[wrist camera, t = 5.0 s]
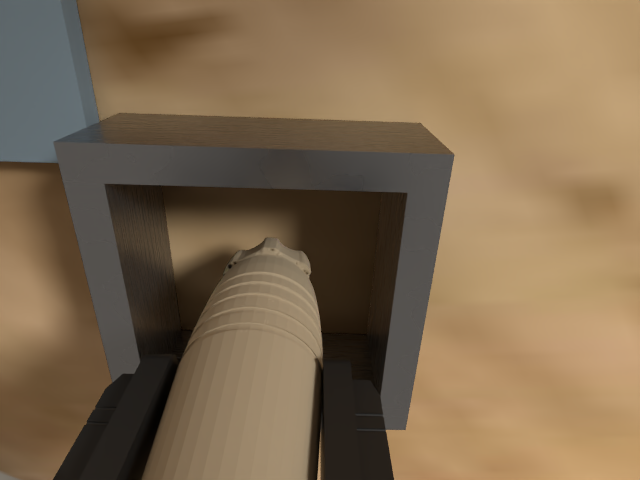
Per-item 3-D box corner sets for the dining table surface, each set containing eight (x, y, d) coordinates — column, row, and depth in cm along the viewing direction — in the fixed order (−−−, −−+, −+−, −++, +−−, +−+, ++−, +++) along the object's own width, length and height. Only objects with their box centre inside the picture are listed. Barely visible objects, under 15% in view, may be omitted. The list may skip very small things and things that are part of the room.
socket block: (119, 113, 16) (53, 141, 12) (420, 123, 16) (454, 154, 12) (159, 349, 21) (122, 425, 17) (388, 353, 21) (405, 429, 17)
